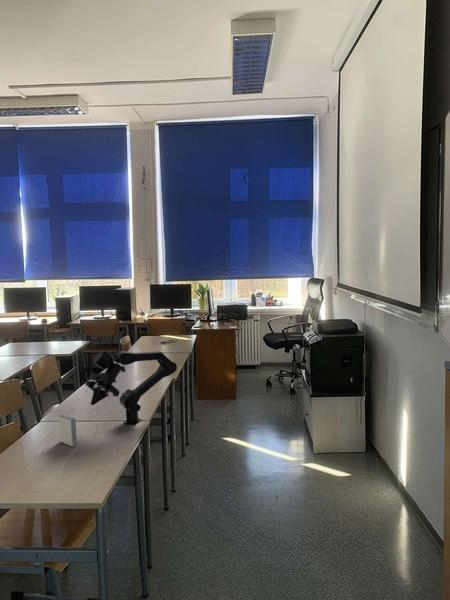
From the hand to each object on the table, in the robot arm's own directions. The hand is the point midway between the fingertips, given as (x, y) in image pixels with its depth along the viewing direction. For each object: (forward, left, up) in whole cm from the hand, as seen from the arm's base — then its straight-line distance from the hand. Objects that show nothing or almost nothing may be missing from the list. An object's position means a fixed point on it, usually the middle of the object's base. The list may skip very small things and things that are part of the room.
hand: (91, 404), depth 201 cm
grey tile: (+11, -5, -14) cm, 19 cm away
